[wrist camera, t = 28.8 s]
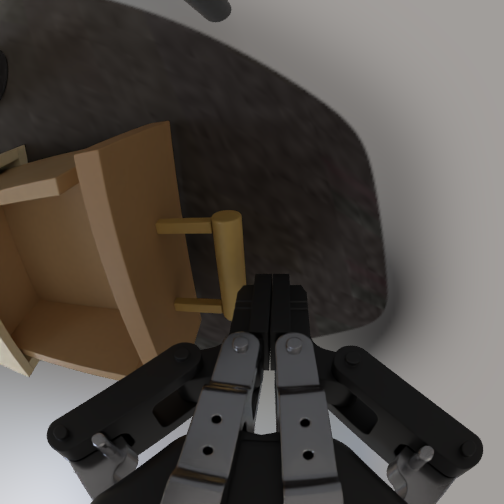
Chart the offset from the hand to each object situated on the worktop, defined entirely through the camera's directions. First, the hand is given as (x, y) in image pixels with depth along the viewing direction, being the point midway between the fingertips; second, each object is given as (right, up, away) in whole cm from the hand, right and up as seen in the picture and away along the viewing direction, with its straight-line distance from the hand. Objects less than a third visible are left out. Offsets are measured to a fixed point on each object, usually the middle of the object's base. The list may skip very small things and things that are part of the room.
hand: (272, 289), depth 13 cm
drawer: (-11, +3, +6) cm, 13 cm away
